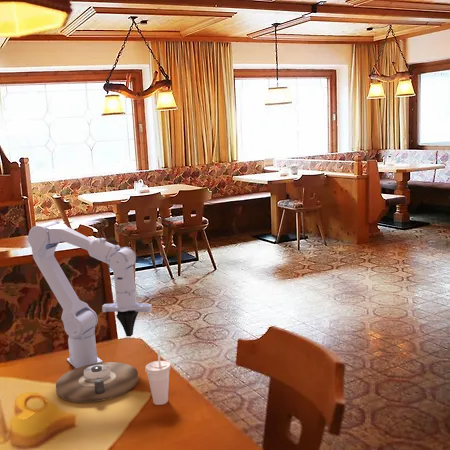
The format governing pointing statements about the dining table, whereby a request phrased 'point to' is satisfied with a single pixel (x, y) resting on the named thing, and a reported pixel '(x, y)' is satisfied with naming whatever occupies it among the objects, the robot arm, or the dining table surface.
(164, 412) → the dining table surface
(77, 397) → the turntable
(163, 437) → the dining table surface
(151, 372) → the smoothie
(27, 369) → the dining table surface
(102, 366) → the cover
